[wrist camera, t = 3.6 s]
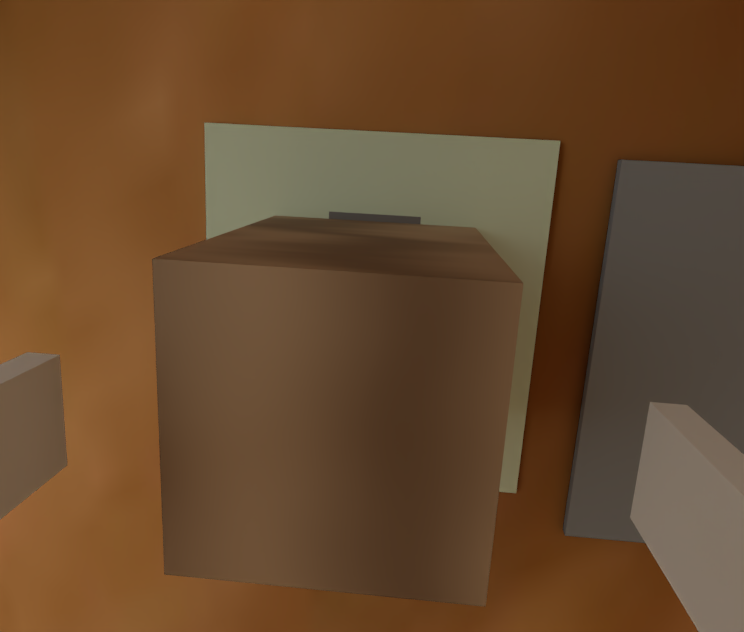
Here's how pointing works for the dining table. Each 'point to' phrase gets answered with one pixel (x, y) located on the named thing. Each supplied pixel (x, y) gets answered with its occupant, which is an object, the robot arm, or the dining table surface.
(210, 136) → the tile
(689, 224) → the mat
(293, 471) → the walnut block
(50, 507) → the dining table surface
